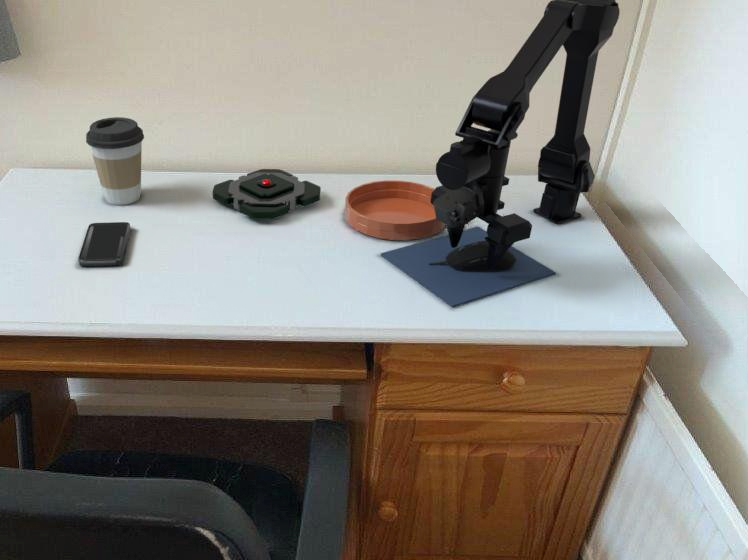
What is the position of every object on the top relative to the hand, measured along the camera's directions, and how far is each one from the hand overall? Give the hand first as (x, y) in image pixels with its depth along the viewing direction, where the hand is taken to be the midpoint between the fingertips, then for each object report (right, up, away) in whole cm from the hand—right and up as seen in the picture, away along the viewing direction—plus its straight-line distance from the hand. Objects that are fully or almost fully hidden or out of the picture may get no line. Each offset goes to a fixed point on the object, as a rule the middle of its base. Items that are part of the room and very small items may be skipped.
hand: (471, 258), depth 132 cm
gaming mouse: (0, -1, +1) cm, 2 cm away
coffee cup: (-64, +16, +26) cm, 71 cm away
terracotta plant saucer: (-10, +10, +17) cm, 22 cm away
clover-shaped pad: (-35, +15, +24) cm, 45 cm away
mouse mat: (0, -1, +2) cm, 2 cm away
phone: (-65, +3, +9) cm, 65 cm away
